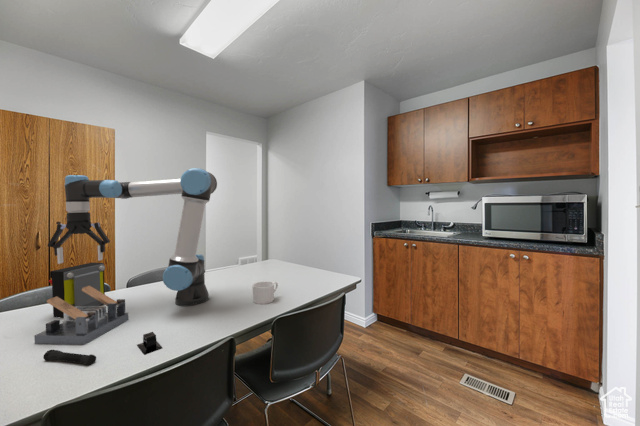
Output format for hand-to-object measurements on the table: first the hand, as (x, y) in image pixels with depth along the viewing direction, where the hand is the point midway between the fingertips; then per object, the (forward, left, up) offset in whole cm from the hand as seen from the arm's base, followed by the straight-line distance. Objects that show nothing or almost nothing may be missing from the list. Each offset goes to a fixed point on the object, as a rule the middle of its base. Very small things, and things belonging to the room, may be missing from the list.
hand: (81, 261), depth 114 cm
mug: (-74, -23, -24) cm, 81 cm away
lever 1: (-13, +18, -14) cm, 26 cm away
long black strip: (-27, +31, -25) cm, 48 cm away
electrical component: (+9, -8, -24) cm, 27 cm away
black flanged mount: (-46, +22, -25) cm, 57 cm away
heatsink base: (-13, +12, -24) cm, 30 cm away
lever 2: (-13, +5, -14) cm, 19 cm away
